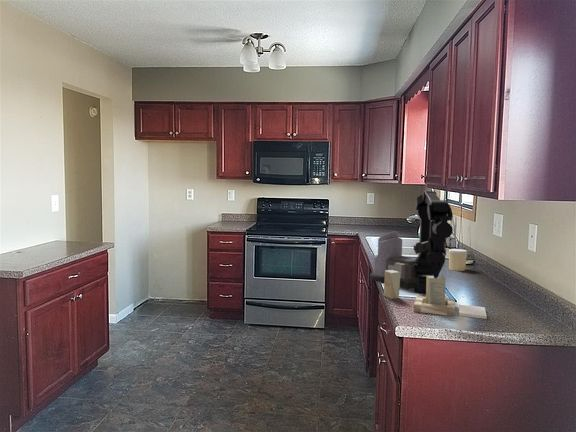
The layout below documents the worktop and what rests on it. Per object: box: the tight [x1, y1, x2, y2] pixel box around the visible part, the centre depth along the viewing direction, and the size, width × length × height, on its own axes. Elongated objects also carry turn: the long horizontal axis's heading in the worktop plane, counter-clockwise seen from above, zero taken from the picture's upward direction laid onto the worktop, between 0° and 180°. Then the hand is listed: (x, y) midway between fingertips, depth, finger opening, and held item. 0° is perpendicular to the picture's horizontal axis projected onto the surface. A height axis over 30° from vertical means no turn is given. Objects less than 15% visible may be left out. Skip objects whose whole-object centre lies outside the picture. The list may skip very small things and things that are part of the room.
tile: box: [458, 304, 488, 320], centre depth 163 cm, size 12×9×1 cm
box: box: [383, 270, 401, 299], centre depth 182 cm, size 5×4×11 cm
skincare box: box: [425, 275, 446, 306], centre depth 167 cm, size 6×4×12 cm
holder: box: [413, 295, 456, 317], centre depth 167 cm, size 14×14×2 cm
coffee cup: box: [448, 248, 468, 272], centre depth 239 cm, size 9×9×12 cm
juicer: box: [369, 231, 417, 290], centre depth 209 cm, size 30×16×24 cm, turn 27°
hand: (435, 276), depth 166 cm, fingers open, 5 cm apart
